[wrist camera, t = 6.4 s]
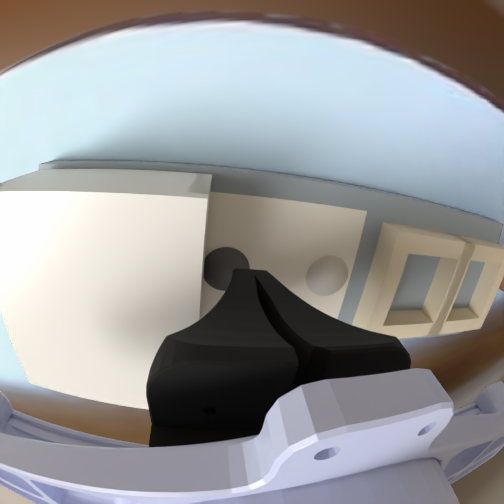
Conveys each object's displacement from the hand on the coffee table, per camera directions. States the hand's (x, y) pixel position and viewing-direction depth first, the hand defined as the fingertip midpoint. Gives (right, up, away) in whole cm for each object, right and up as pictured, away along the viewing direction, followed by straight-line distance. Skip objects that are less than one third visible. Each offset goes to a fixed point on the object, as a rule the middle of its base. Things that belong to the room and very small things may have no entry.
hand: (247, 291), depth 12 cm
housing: (-6, +1, +1) cm, 6 cm away
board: (+3, +1, +3) cm, 5 cm away
